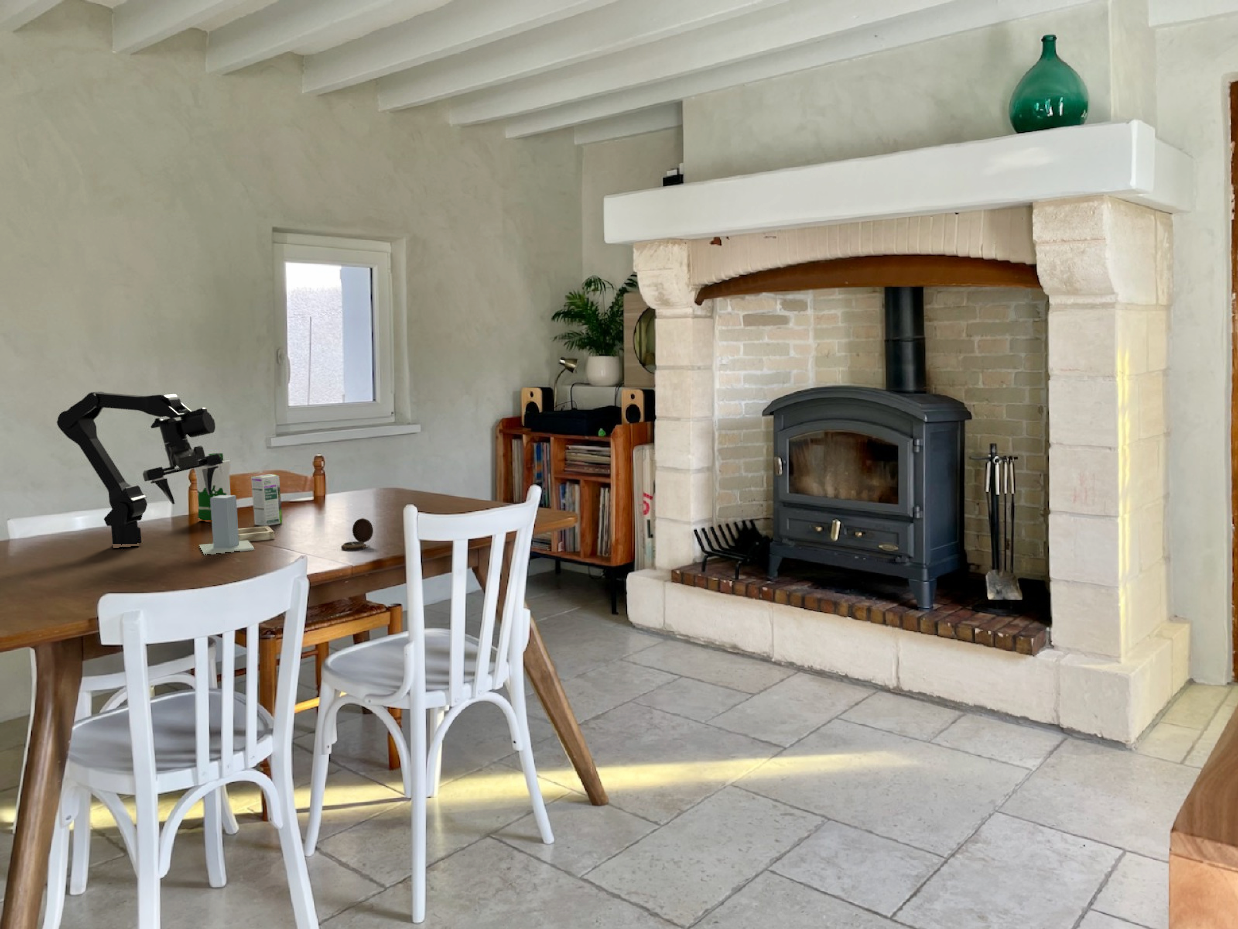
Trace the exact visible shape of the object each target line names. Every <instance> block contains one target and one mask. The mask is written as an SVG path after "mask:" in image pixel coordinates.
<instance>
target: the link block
mask: <svg viewBox="0 0 1238 929" xmlns="http://www.w3.org/2000/svg"><path fill="white" fill-rule="evenodd" d="M210 503H211V518H212V522H211V531H212V544H213V547H214V548H231V547H234V546H237V545H239V534H238V529H239V523H238V522H239V521H238V504H237V495H234V494H232V495H231V494H230V495H219V496H215V497H212V498H210Z"/></svg>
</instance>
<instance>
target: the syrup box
mask: <svg viewBox="0 0 1238 929" xmlns="http://www.w3.org/2000/svg"><path fill="white" fill-rule="evenodd" d="M250 479H251V491H252V492H251V493H252V504H253V505H252V506H253V516H254V520H253V521H254V525H255V526H258V527H263V526H269V527H270V526H275V525H280V524H283V513H282V512H283V511H282V499H281V496H282V495H281V483H280V476H279V475H278V474H273V473H272V474H271V473H270V474H261V475H256V476H251V478H250Z"/></svg>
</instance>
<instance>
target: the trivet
mask: <svg viewBox="0 0 1238 929" xmlns="http://www.w3.org/2000/svg"><path fill="white" fill-rule="evenodd" d="M198 546H200V547H199V549H200V548H201V549H200V551H201V550H202V551H201V553H202V552H203V553H202V555H203V554H204V555H203V556H208V555H207V554H211V555H217V554H216V553H221V554H226V553H225V552H231V553H235V552H234V551H240V552H247V551H255V548H254V546H253V545H252V543H251V541H248V540H243V541H239V545H237V546H234V547H231V548H214V547H213V543H207V544H206V543H204V544H199V545H198ZM205 554H206V555H205Z"/></svg>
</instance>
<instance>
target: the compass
mask: <svg viewBox="0 0 1238 929" xmlns="http://www.w3.org/2000/svg"><path fill="white" fill-rule="evenodd" d="M351 532H352V536H353V537H354V539H355V540H356V541H348V542H344V543H343V544H342V545H341V547H340V548H341V550H342V549H343V551H347V550H353V551H359V549H361V550H364V549H365V548H367V544H365V543H366V542H369V541H370V540H371V539H372V538H373V534H374V527H373V525H372V523H371V521H370V520H368V519H367V518H364V517H362V518H359V519H357V520H356V521H355V522H353V524H352V531H351ZM369 547H370V545H368V548H369ZM363 548H364V549H363Z"/></svg>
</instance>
